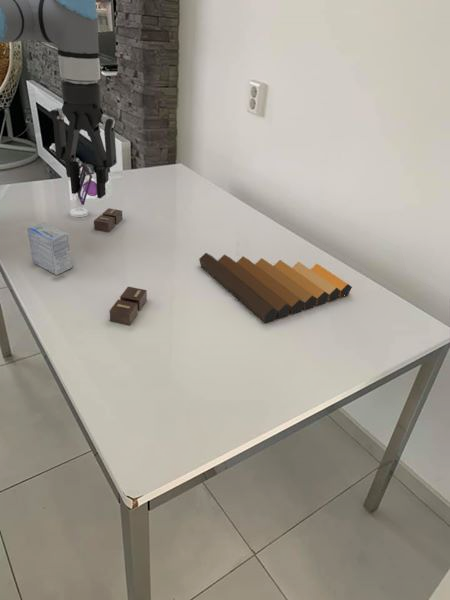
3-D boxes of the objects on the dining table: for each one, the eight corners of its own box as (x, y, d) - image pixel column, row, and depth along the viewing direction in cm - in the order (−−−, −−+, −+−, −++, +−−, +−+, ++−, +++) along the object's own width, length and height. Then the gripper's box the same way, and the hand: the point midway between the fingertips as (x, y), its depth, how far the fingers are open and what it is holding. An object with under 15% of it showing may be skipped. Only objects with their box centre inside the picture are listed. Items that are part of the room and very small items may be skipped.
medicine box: (72, 268, 100) (69, 233, 95) (56, 276, 97) (51, 239, 92) (49, 256, 103) (44, 221, 98) (32, 263, 100) (26, 227, 95)
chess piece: (92, 212, 125) (89, 177, 120) (80, 218, 121) (77, 182, 116) (78, 208, 127) (74, 173, 121) (65, 214, 123) (62, 178, 117)
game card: (80, 161, 101) (86, 175, 94) (103, 168, 104) (111, 182, 97) (72, 189, 103) (78, 204, 97) (95, 195, 106) (102, 210, 100)
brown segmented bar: (109, 321, 86) (109, 309, 84) (128, 296, 93) (128, 285, 92) (129, 325, 85) (129, 314, 84) (146, 300, 92) (146, 289, 91)
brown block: (94, 229, 117) (93, 220, 115) (108, 216, 124) (108, 207, 123) (108, 232, 116) (108, 222, 115) (122, 219, 124) (122, 210, 122)
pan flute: (198, 266, 106) (262, 324, 89) (199, 254, 104) (265, 310, 87) (280, 247, 118) (349, 294, 102) (282, 235, 117) (353, 282, 100)
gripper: (132, 84, 90) (134, 195, 103) (47, 72, 92) (59, 182, 105) (117, 89, 84) (121, 206, 97) (26, 76, 86) (41, 192, 99)
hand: (88, 193), depth 101 cm, fingers closed on game card, 5 cm apart
